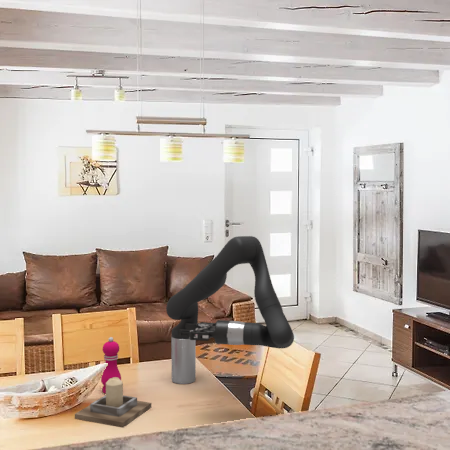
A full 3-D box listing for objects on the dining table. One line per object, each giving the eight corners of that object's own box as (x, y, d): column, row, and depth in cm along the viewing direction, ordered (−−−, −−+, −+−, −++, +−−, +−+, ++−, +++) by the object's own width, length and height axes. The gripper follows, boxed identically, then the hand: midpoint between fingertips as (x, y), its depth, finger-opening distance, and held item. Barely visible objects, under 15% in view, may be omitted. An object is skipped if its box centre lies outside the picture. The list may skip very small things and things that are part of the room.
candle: (119, 411, 190) (119, 381, 189) (103, 410, 191) (103, 380, 190) (125, 405, 195) (125, 376, 195) (109, 404, 196) (109, 375, 196)
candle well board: (106, 399, 205) (105, 388, 205) (151, 407, 198) (151, 395, 198) (74, 418, 188) (74, 406, 188) (123, 427, 182) (123, 414, 181)
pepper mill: (97, 393, 211) (96, 338, 210) (108, 386, 218) (108, 333, 217) (114, 395, 209) (113, 340, 207) (125, 389, 215) (124, 335, 214)
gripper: (235, 316, 194) (187, 313, 197) (226, 326, 180) (175, 323, 183) (234, 338, 195) (187, 335, 198) (226, 350, 181) (175, 347, 184)
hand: (182, 329), depth 191 cm, fingers open, 8 cm apart
